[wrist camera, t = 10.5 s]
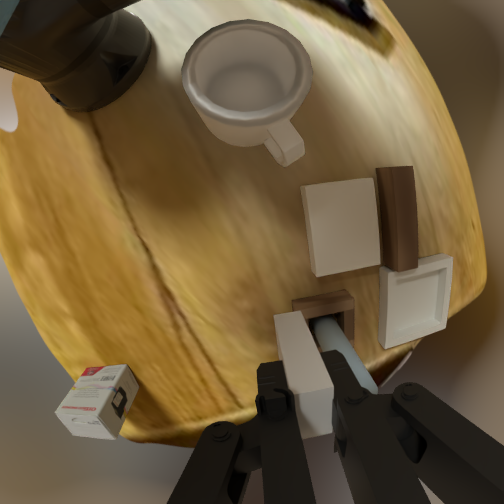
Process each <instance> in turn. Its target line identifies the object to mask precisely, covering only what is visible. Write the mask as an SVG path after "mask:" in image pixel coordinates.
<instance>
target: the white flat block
mask: <svg viewBox="0 0 504 504" xmlns="http://www.w3.org/2000/svg"><path fill="white" fill-rule="evenodd" d="M300 189H301V196H302V202H303V209H304V216H305V223H306V231H307V238H308V246H309V254H310V263H311V271H312V272H313V273H314V274H315V276H316V277H320V276H326V275H331V274H336V273H341V272H346V271H350V270H355V269H360V268H365V267H369V266H374V265H379V264H380V243H379V228H378V216H377V206H376V196H375V188H374V180H373V178H360V179H351V180H342V181H334V182H326V183H318V184H311V185H304V186H300Z"/></svg>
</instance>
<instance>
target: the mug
mask: <svg viewBox="0 0 504 504" xmlns="http://www.w3.org/2000/svg"><path fill="white" fill-rule="evenodd" d="M181 71H182V81H183V88H184V90H185V91H186V93H187V95H188V97H189V99H190V101H191V103H192V105H193V106H194V108H195V109H196V111H197V112H198V114H199V115H200V117H201V119H202V120H203V122H204V123H205V125H206V126H207V128H208V130H210V131H211V132H212V133H213V134H214V135H215V136H216V137H217V138H218V139H220V140H222V141H224V142H226V143H228V144H230V145H235V146H241V147H250V146H258V145H261V144H264V145H265V146H266V148H267V149H268V151H269V152H270V153H271V155H272V156H273V158H274V159H275V160H276V162H277V163H278V164H279V165H281V166H283V167H284V168H286V167H287V166H289V165H290V164H292V163H293V162H295V161H296V160H298V159H299V158H301V157H302V156H303V155H305V147H304V140H303V139H302V138H301V136H300V135H299V133H298V132H297V131H296V129H295V128H294V126H293V125H292V124H291V122H290V119H291V118H292V117H293V115H294V114H295V113H296V111H297V110H298V108H299V107H300V106H301V104H302V103H303V101H304V99H305V97H306V96H307V94H308V92H309V91H310V89H311V82H312V75H313V70H312V66H311V61H310V57H309V55H308V53H307V52H306V50H305V49H304V47H303V45H302V44H301V42H300V41H299V40H298V39H296V38H295V37H294V36H293V35H292V34H290V33H289V32H288V31H287V30H285V29H283V28H281V27H278V26H276V25H274V24H271V23H269V22H264V21H257V20H250V19H247V20H237V21H229V22H226V23H224V24H221V25H218V26H216V27H213V28H211V29H210V30H208V31H207V32H205V33H204V34H203V35H201V36H200V37H199V38H197V39H196V41H195V42H194V43H193V45H192V46H191V47H190V49H189V50H188V52H187V53H186V56H185V59H184V63H183V66H182V70H181Z"/></svg>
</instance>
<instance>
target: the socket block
mask: <svg viewBox="0 0 504 504" xmlns="http://www.w3.org/2000/svg"><path fill="white" fill-rule="evenodd" d="M292 307H293V312H295V311H301V313H302V315H303V317H304V319H305V322H306V324H307V326H308V328H309V323H308V318H313V317H318V316H323V315H328V314H333V313H337V324H338V325H339V327H340V328H341V330H342V331H343V333H344V334H345V336H346V338H347V339H348V341H349V342H350V344H351V345H352V347H353V348H354V298H353V297H352V296H351V295H350V294H349V293H348V292H347V291H346V290H342V291H337V292H332V293H327V294H322V295H317V296H312V297H306V298H301V299H295V300H292ZM312 337H313V340H314V342H315V344H316V346H317V349H318V351H319V353H321V352H323V351H322V349H321V346H320V344H319V342H318V340H317V338H316V336H315V335H314V336H312Z"/></svg>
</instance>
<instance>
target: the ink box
mask: <svg viewBox="0 0 504 504" xmlns="http://www.w3.org/2000/svg"><path fill="white" fill-rule="evenodd" d="M138 389H139V386H138V384H137V382H136V380H135V378H134V376H133V374H132V372H131V370H130V369H129V367H128V365H126V364H123V365H114V366H104V367H92V368H86V370H85V371H84V372H83V374H82V375H81V376H80V378H79V379H78V380H77V382H76V383H75V385H74V386H73V387H72V389H71V390H70V392H69V393H68V395H67V396H66V397H65V399H64V400H63V401H62V403H61V404H60V406H59V407H58V409H57V410H56V411H55V414H56V415H57V416H58V418H59V419H60V420H61V421H62V423H63V424H64V425H65V427H66V428H67V429H68V430H69V431H70V433H71V434H72V435H75V436H83V437H90V438H100V439H112V440H116V439H117V437H118V434H119V432H120V430H121V428H122V425H123V423H124V421H125V418H126V416H127V414H128V411H129V409H130V407H131V405H132V402H133V400H134V398H135V396H136V394H137V391H138Z"/></svg>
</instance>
